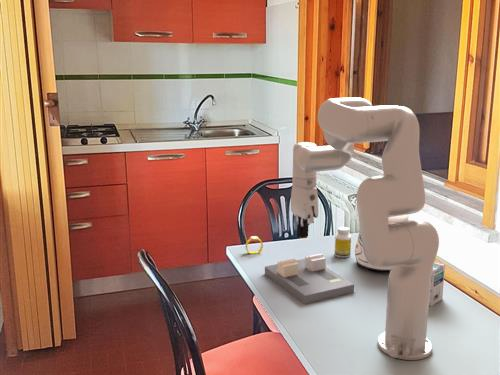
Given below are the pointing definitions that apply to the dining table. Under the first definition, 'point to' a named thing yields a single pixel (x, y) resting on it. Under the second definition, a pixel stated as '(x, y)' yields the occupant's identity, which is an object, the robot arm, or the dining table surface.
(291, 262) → the cream tab
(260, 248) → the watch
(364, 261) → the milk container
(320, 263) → the ridged white block
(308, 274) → the switch panel
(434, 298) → the light bulb box
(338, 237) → the supplement bottle
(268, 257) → the dining table surface
